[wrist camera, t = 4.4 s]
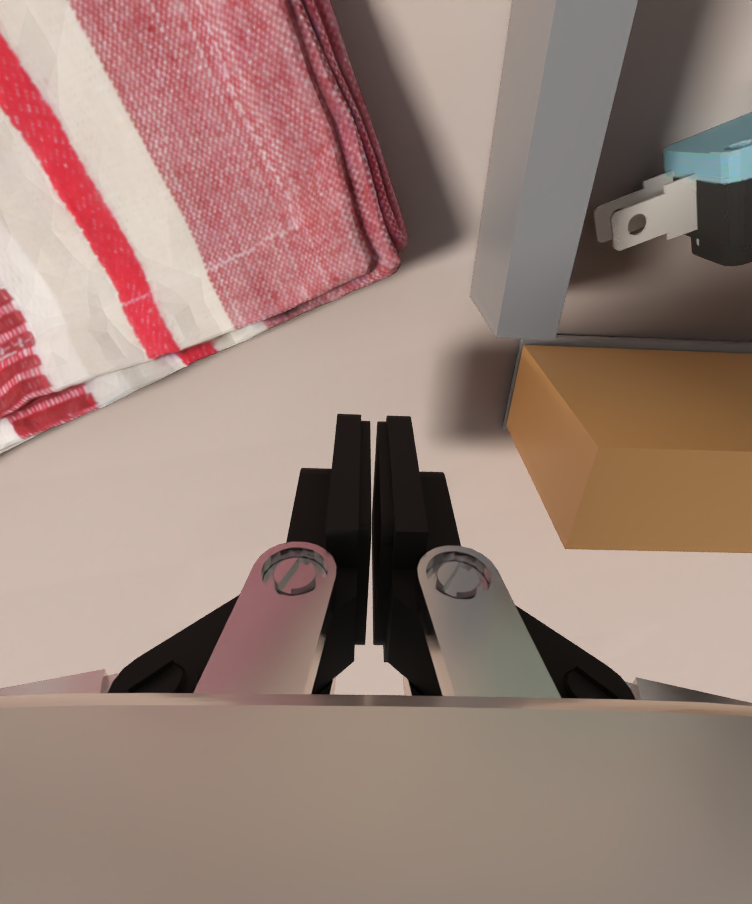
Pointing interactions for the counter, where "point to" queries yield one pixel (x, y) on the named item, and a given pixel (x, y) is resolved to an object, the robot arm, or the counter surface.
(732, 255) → the black stemmed piece
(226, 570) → the counter surface
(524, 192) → the cradle
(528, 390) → the block
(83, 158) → the dish towel
